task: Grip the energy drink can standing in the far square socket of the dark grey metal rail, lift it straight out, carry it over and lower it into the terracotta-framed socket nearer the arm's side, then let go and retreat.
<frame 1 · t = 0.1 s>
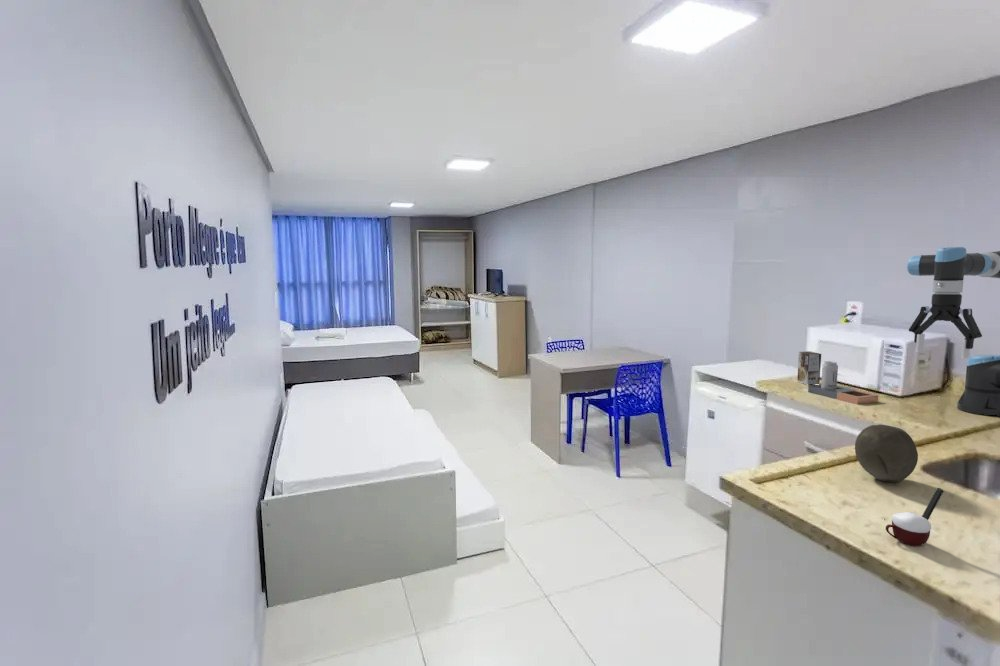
hand: (941, 355, 168), 28 cm above the countertop, tool pointing down, fingers open, 13 cm apart
cocoa: (910, 542, 103), on the countertop
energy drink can: (828, 394, 230), resting in socket rail
dark grey rounded lump: (882, 479, 135), on the countertop
socket rail: (841, 396, 223), on the countertop
coffee box: (808, 383, 251), on the countertop
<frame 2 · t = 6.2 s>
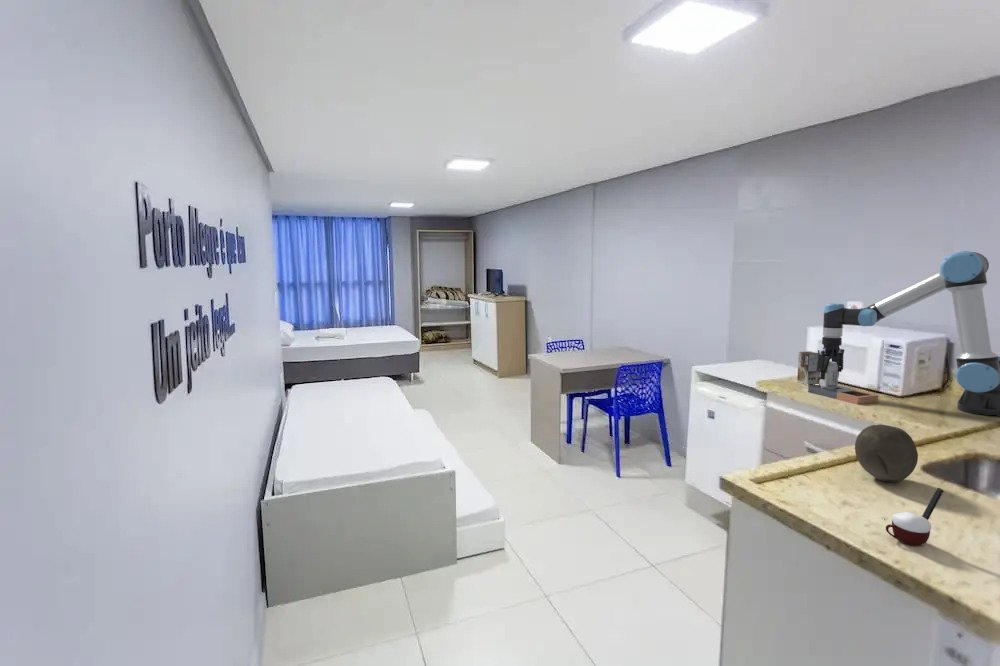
hand: (828, 385, 229), 4 cm above the countertop, tool pointing down, fingers closed on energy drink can, 6 cm apart
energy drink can: (828, 394, 230), resting in socket rail, touching gripper
everything else where it was.
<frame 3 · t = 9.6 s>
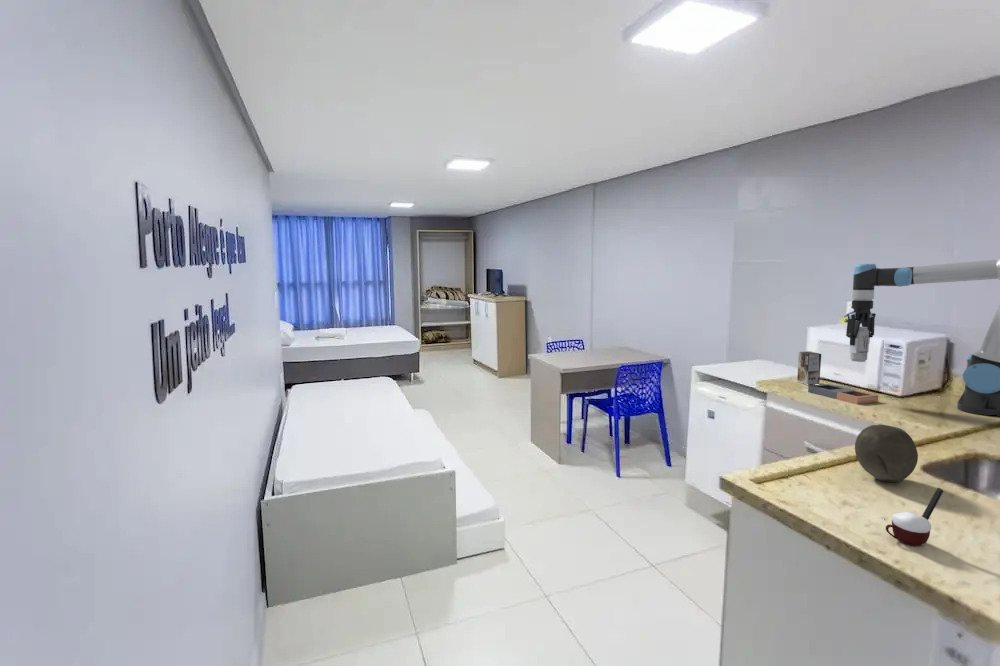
hand: (858, 352, 215), 22 cm above the countertop, tool pointing down, fingers closed on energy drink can, 6 cm apart
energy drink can: (858, 361, 215), point 18 cm above the countertop, touching gripper
everything else where it was.
when the fingers open (5 cm above the countertop, at t = 13.3 s): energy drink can drops 1 cm, resting in socket rail.
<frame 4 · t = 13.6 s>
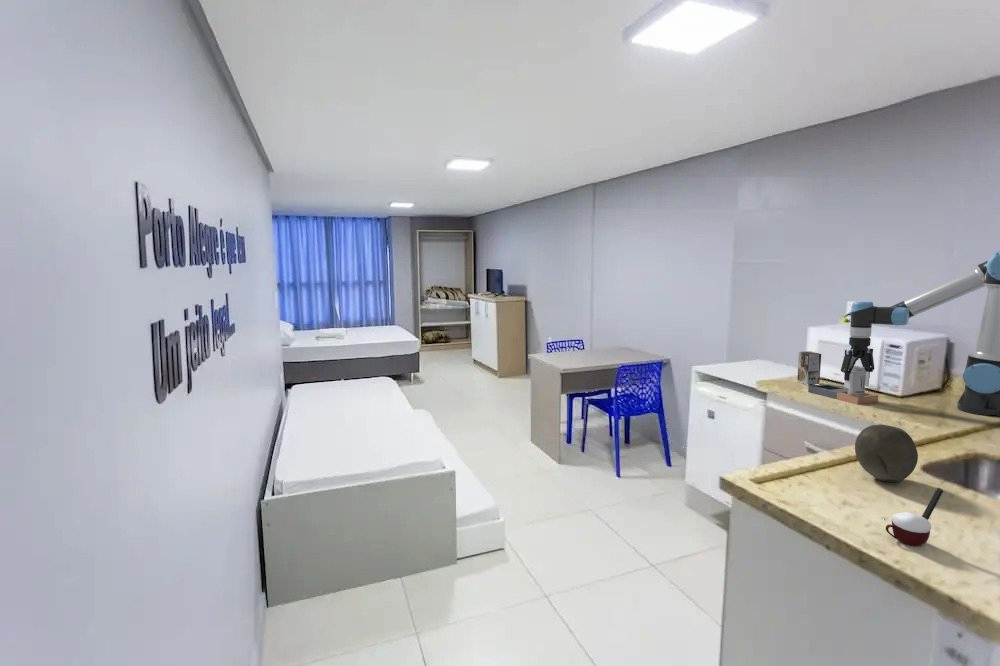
hand: (856, 386, 216), 6 cm above the countertop, tool pointing down, fingers open, 9 cm apart
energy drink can: (855, 400, 217), resting in socket rail
everything else where it was.
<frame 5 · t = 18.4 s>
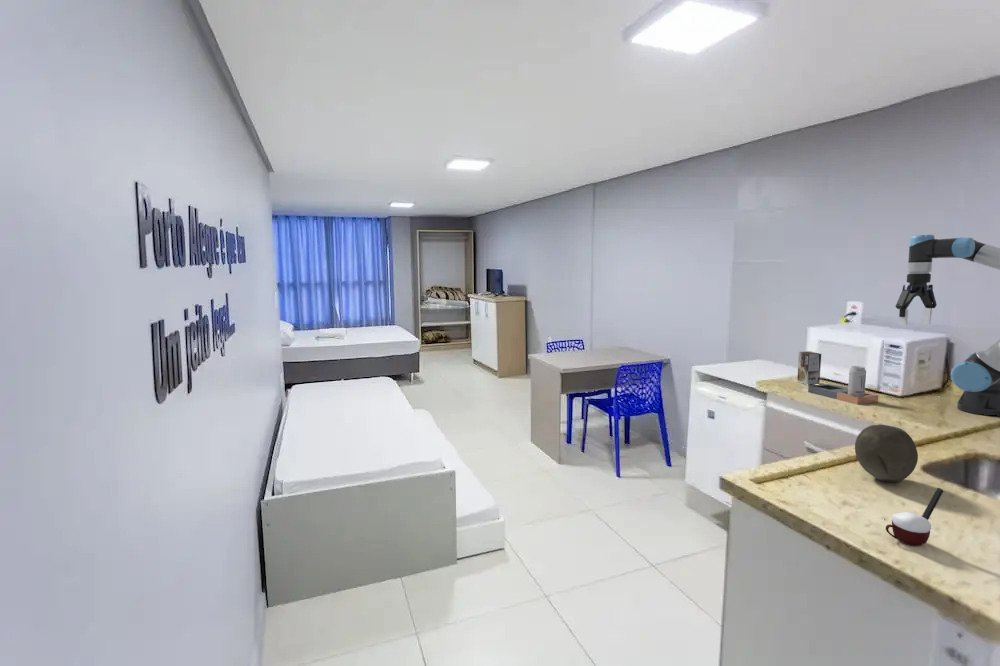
hand: (914, 324, 204), 35 cm above the countertop, tool pointing down, fingers open, 13 cm apart
nothing on the countertop moved.
at the end: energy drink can 0.0 cm from the target spot on the socket rail, point 0.0 cm above the socket rail's base; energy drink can tilted 0°; the gripper is holding nothing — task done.
